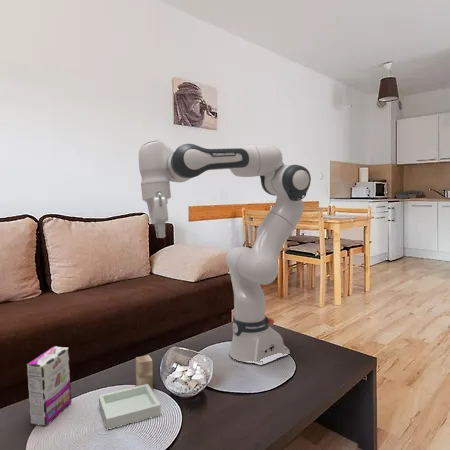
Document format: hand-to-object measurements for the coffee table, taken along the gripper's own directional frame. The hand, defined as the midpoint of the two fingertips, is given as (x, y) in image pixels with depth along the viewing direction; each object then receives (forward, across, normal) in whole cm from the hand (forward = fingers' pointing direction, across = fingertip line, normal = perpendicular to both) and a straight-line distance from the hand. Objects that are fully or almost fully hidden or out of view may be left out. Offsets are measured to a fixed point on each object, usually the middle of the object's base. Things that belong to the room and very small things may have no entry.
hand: (161, 237), depth 119 cm
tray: (+46, -11, +14) cm, 49 cm away
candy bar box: (+44, -8, +35) cm, 56 cm away
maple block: (+45, 0, +10) cm, 46 cm away
